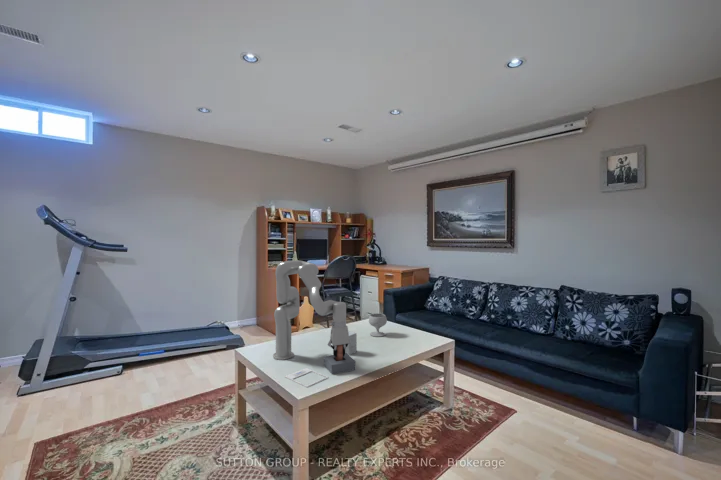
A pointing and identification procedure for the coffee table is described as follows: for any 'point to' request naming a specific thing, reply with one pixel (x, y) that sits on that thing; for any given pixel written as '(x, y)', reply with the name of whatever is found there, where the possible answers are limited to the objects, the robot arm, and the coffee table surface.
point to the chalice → (377, 323)
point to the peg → (339, 352)
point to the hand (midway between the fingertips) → (339, 355)
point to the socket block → (339, 364)
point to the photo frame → (303, 372)
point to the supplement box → (352, 343)
